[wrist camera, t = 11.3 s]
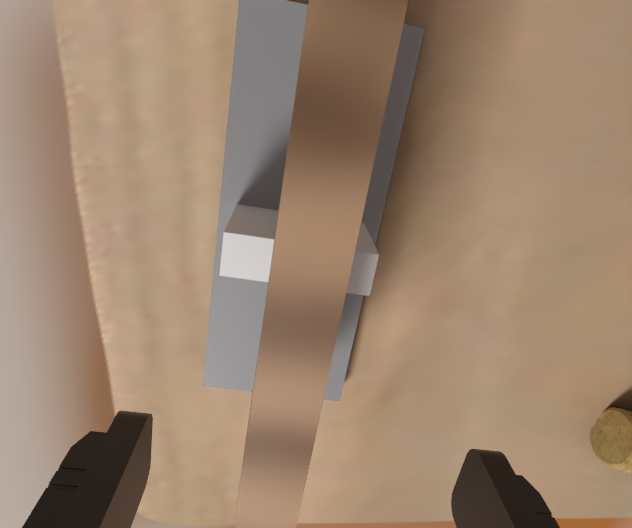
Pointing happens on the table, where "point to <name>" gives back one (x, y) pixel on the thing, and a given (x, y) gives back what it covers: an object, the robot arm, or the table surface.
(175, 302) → the table surface
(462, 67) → the table surface
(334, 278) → the walnut bar
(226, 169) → the fulcrum stand
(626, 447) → the gavel
